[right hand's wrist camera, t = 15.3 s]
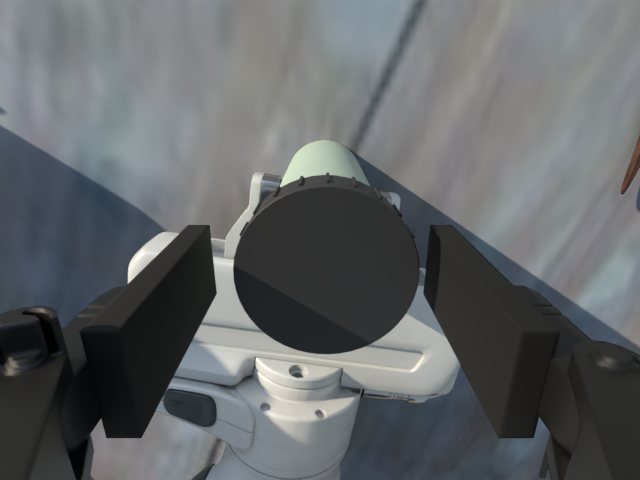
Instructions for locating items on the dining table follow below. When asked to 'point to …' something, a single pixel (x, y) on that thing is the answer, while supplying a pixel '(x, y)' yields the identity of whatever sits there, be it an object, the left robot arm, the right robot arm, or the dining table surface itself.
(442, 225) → the right robot arm
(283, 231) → the lid
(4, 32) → the dining table surface
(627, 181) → the fork
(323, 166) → the jar
